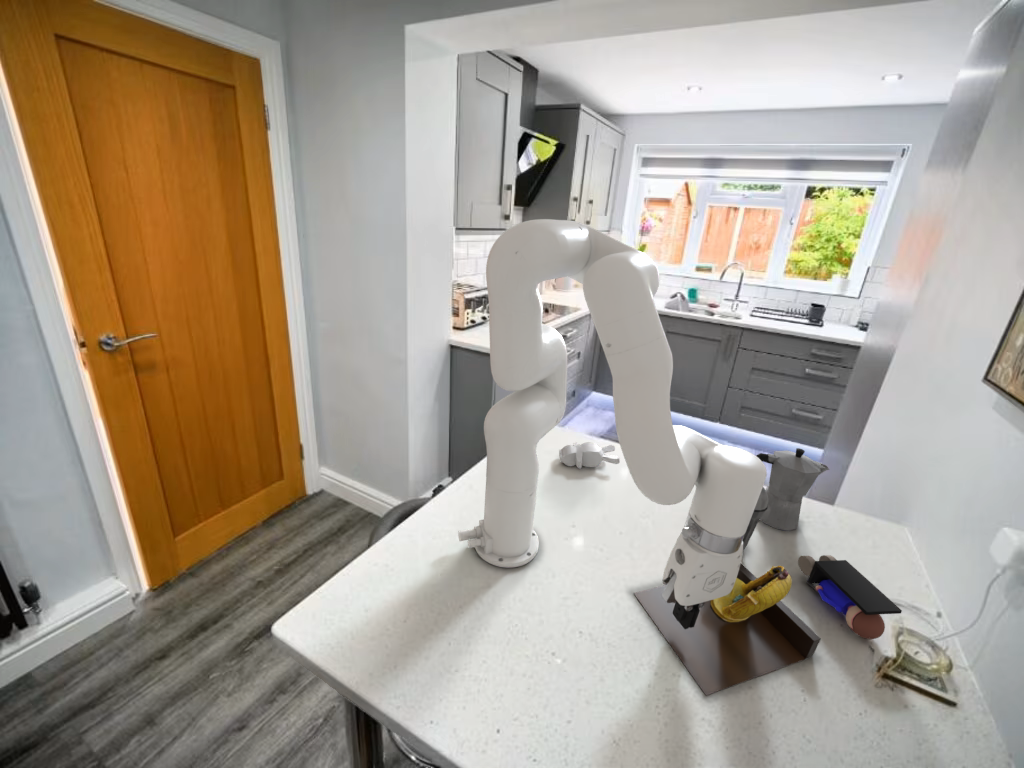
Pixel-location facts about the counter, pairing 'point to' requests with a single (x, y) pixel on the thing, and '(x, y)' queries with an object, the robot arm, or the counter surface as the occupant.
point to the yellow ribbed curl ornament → (752, 596)
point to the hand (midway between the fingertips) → (682, 620)
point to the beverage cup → (756, 516)
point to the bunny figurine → (586, 455)
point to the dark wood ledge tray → (732, 640)
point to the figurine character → (849, 594)
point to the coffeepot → (788, 486)
